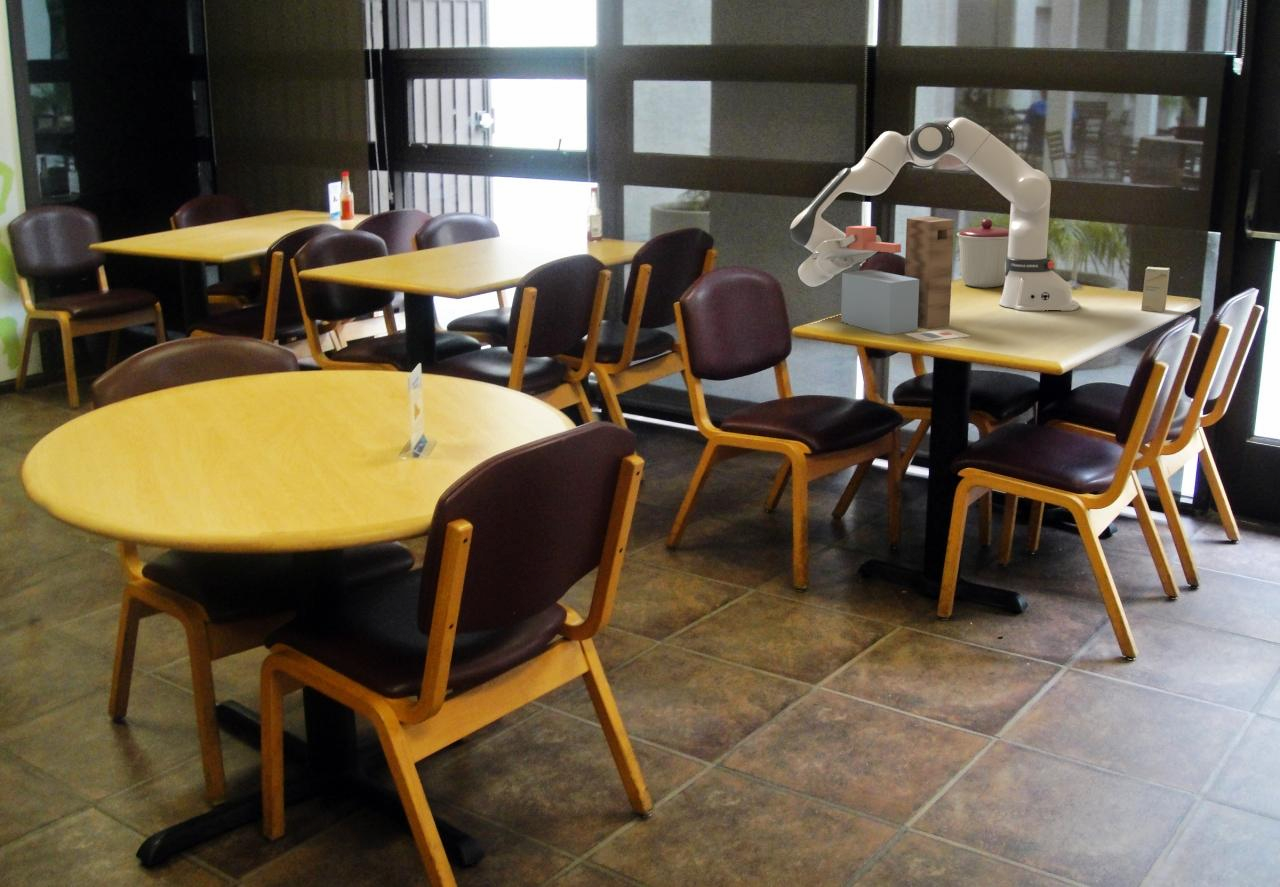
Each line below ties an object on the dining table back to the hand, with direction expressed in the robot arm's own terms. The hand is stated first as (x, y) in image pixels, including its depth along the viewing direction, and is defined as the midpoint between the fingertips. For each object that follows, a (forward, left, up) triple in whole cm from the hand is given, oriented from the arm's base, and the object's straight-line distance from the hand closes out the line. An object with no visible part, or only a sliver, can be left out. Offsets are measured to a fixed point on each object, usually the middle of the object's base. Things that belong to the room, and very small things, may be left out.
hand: (864, 236), depth 379 cm
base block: (-5, +5, -24) cm, 25 cm away
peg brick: (-3, +3, -3) cm, 6 cm away
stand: (-18, -1, -24) cm, 30 cm away
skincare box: (-78, -35, -24) cm, 89 cm away
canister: (-28, -67, -24) cm, 77 cm away
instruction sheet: (-22, +14, -24) cm, 36 cm away
